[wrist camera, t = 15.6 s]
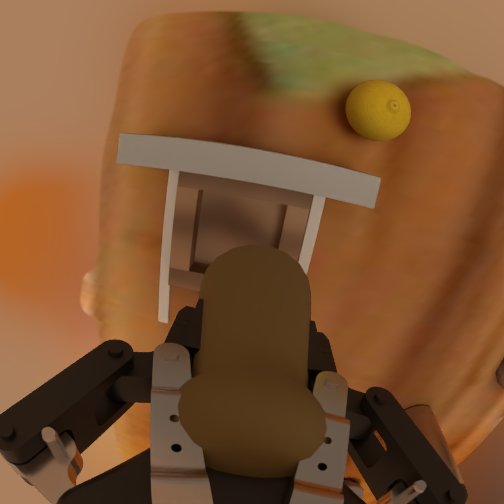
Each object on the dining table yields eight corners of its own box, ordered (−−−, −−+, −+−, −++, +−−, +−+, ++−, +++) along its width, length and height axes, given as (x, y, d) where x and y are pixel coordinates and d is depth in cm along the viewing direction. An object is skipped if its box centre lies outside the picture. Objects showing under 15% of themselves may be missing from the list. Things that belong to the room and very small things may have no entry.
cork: (178, 289, 16) (93, 459, 6) (261, 220, 15) (250, 397, 5) (250, 356, 18) (235, 526, 8) (331, 302, 16) (387, 483, 6)
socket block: (284, 293, 33) (285, 307, 30) (176, 273, 32) (168, 285, 30) (309, 183, 28) (314, 188, 26) (188, 162, 28) (180, 164, 25)
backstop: (303, 345, 35) (310, 391, 28) (142, 315, 35) (117, 354, 27) (352, 169, 28) (381, 178, 20) (155, 134, 28) (120, 133, 20)
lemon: (397, 110, 26) (435, 102, 18) (371, 152, 27) (405, 155, 20) (353, 77, 25) (381, 57, 17) (326, 119, 26) (347, 111, 19)
